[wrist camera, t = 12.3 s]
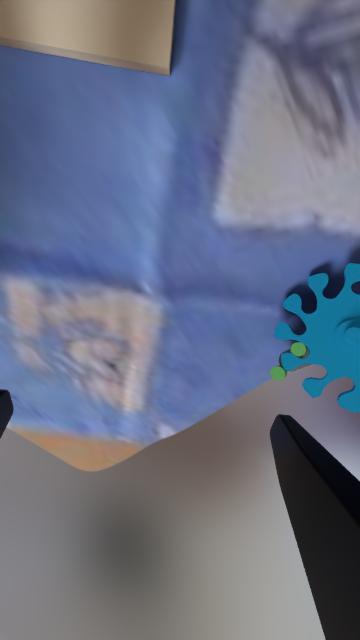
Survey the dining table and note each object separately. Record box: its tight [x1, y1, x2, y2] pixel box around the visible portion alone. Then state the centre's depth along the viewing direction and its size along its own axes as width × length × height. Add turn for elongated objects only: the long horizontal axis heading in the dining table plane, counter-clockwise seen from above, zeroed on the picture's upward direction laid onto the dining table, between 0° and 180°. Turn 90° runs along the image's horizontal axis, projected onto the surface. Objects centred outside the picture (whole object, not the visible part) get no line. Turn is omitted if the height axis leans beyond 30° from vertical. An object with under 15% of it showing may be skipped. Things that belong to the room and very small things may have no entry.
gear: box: [270, 263, 360, 413], centre depth 19 cm, size 11×6×10 cm
